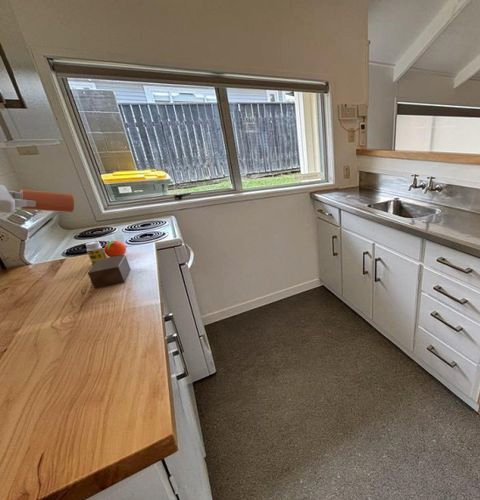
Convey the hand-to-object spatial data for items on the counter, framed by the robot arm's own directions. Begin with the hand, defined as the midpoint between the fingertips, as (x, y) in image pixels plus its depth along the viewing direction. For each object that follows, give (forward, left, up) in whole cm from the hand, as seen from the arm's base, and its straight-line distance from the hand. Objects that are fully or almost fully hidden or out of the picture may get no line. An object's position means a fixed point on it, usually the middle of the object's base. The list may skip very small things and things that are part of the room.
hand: (32, 200), depth 87 cm
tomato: (+10, +18, -29) cm, 35 cm away
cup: (+2, +1, -4) cm, 4 cm away
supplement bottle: (+5, +15, -29) cm, 33 cm away
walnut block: (+13, -6, -29) cm, 32 cm away
